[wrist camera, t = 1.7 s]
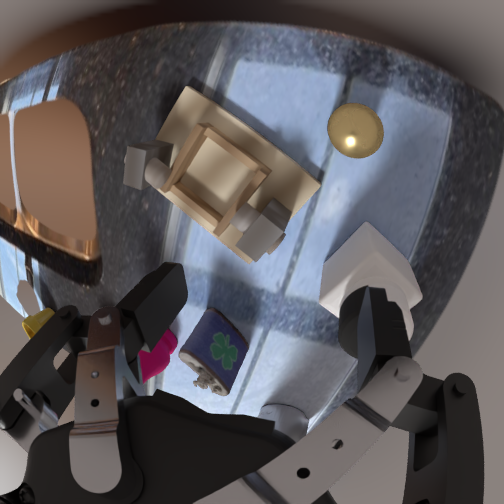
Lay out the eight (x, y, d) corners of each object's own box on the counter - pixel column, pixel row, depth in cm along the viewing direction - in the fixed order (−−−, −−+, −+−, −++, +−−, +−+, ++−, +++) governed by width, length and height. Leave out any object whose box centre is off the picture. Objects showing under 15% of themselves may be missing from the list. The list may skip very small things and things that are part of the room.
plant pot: (71, 332, 58) (50, 355, 50) (57, 331, 62) (38, 350, 54) (51, 301, 55) (27, 322, 46) (39, 302, 59) (18, 321, 50)
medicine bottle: (365, 299, 30) (369, 381, 20) (321, 264, 29) (310, 342, 19) (409, 260, 26) (437, 336, 16) (365, 218, 26) (383, 285, 15)
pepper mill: (158, 315, 41) (86, 407, 24) (188, 345, 43) (128, 440, 26) (138, 326, 45) (74, 406, 28) (165, 354, 46) (110, 436, 29)
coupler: (378, 128, 21) (395, 131, 15) (351, 158, 23) (359, 170, 17) (345, 99, 21) (351, 90, 15) (318, 129, 23) (315, 132, 17)
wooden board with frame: (322, 184, 25) (320, 202, 20) (252, 261, 32) (236, 290, 27) (190, 86, 24) (158, 82, 19) (143, 172, 30) (110, 185, 25)
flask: (202, 310, 38) (167, 364, 29) (217, 304, 36) (182, 361, 27) (239, 352, 40) (215, 408, 31) (254, 348, 39) (231, 407, 30)
